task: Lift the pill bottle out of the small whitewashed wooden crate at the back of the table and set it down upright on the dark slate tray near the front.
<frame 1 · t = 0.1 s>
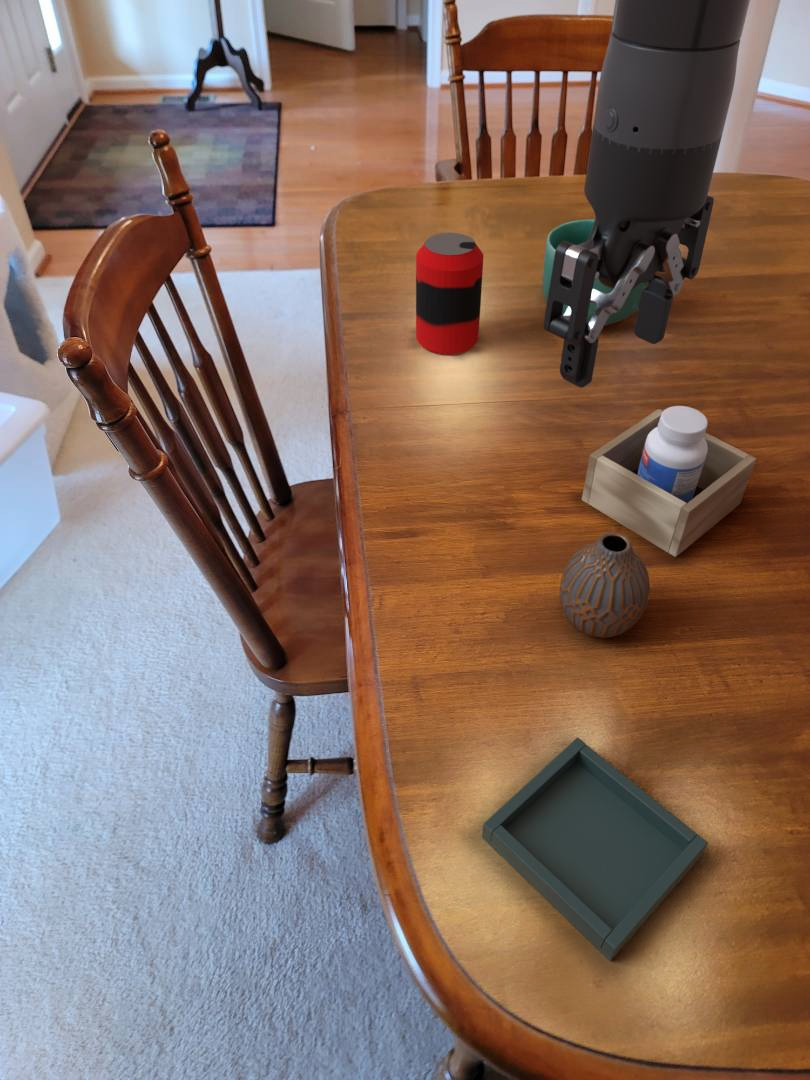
hand: (612, 359, 61), 20 cm above the table, tool pointing down, fingers open, 8 cm apart
soda can: (447, 340, 101), on the table
tray: (590, 846, 55), on the table
vase: (596, 620, 69), on the table
crate: (660, 502, 79), on the table
pill bottle: (660, 503, 79), resting in crate
mug: (604, 314, 105), on the table
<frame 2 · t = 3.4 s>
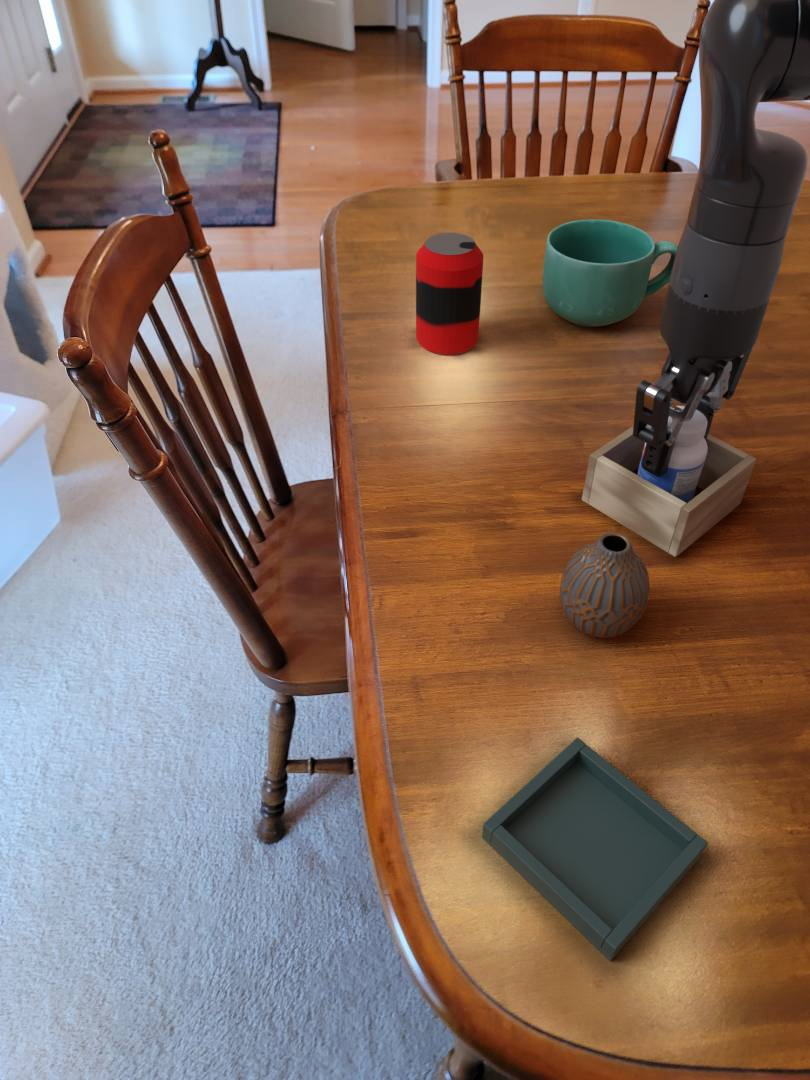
hand: (673, 456, 75), 5 cm above the table, tool pointing down, fingers closed on pill bottle, 5 cm apart
pill bottle: (660, 503, 79), resting in crate, touching gripper
everything else where it was.
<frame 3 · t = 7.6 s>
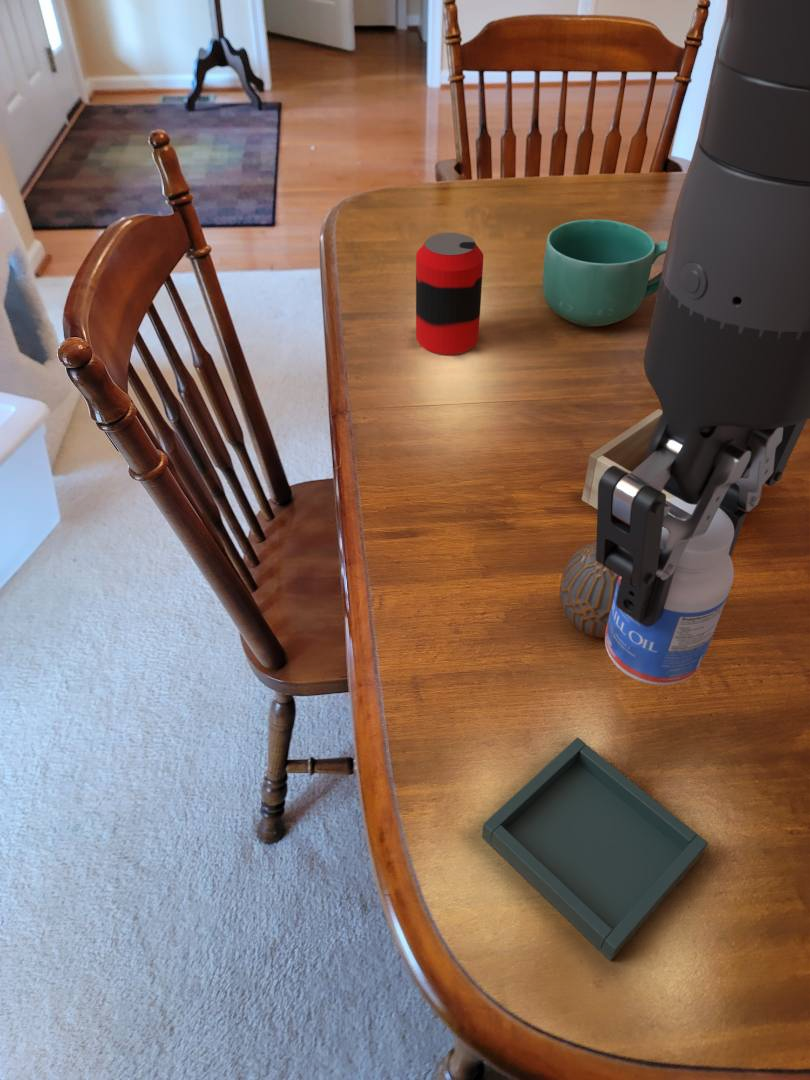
hand: (673, 583, 43), 21 cm above the table, tool pointing down, fingers closed on pill bottle, 5 cm apart
pill bottle: (651, 652, 47), point 15 cm above the table, touching gripper
everything else where it was.
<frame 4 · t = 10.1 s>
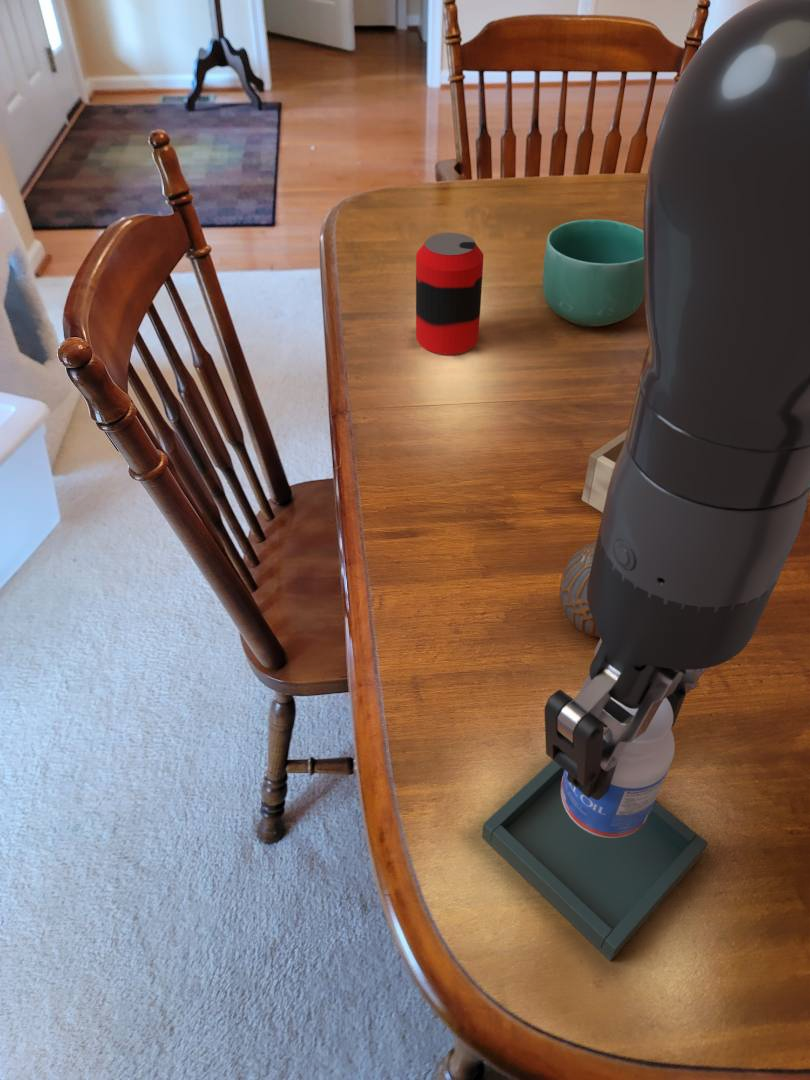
hand: (621, 751, 47), 11 cm above the table, tool pointing down, fingers closed on pill bottle, 5 cm apart
pill bottle: (603, 801, 51), point 6 cm above the table, touching gripper
everything else where it was.
when the fingers open (6 cm above the table, at t = 12.0 s): pill bottle stays where it is, resting on tray.
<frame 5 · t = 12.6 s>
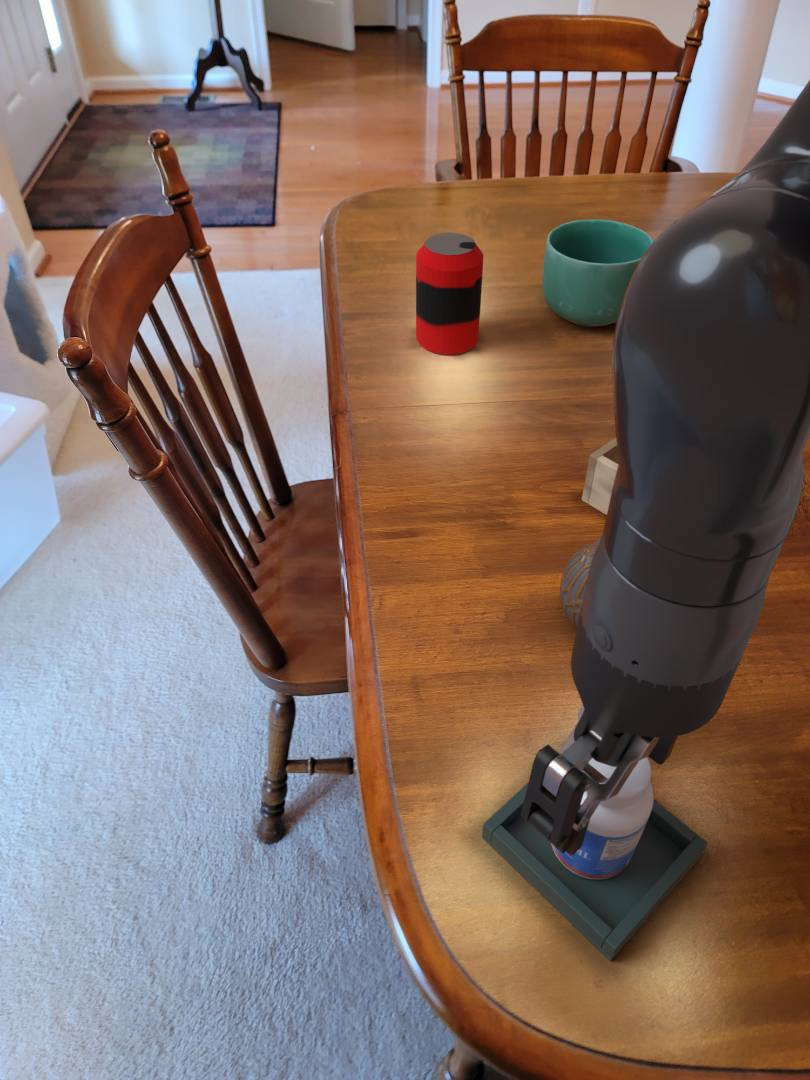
hand: (608, 794, 50), 7 cm above the table, tool pointing down, fingers open, 8 cm apart
pill bottle: (589, 844, 55), resting on tray
everything else where it was.
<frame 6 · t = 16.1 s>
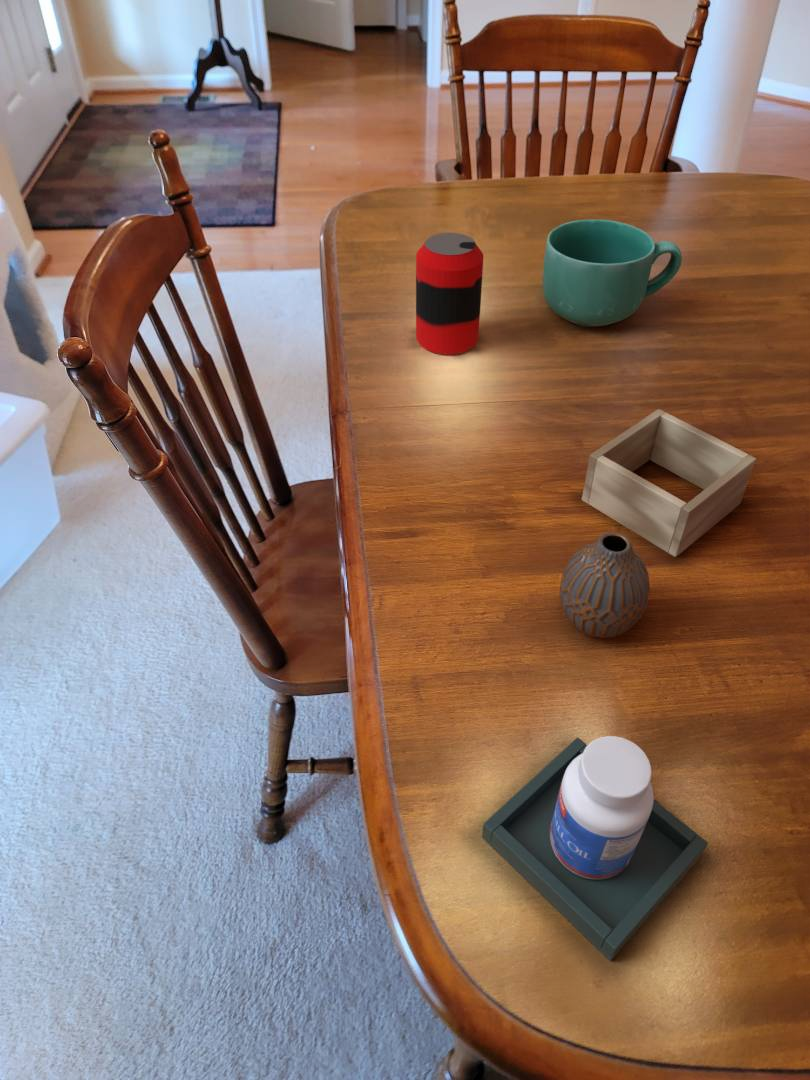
nothing on the table moved.
at the end: pill bottle inside the target area in the tray (0.1 cm from its centre), point 0.2 cm above the tray's base; pill bottle tilted 0°; the gripper is holding nothing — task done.
